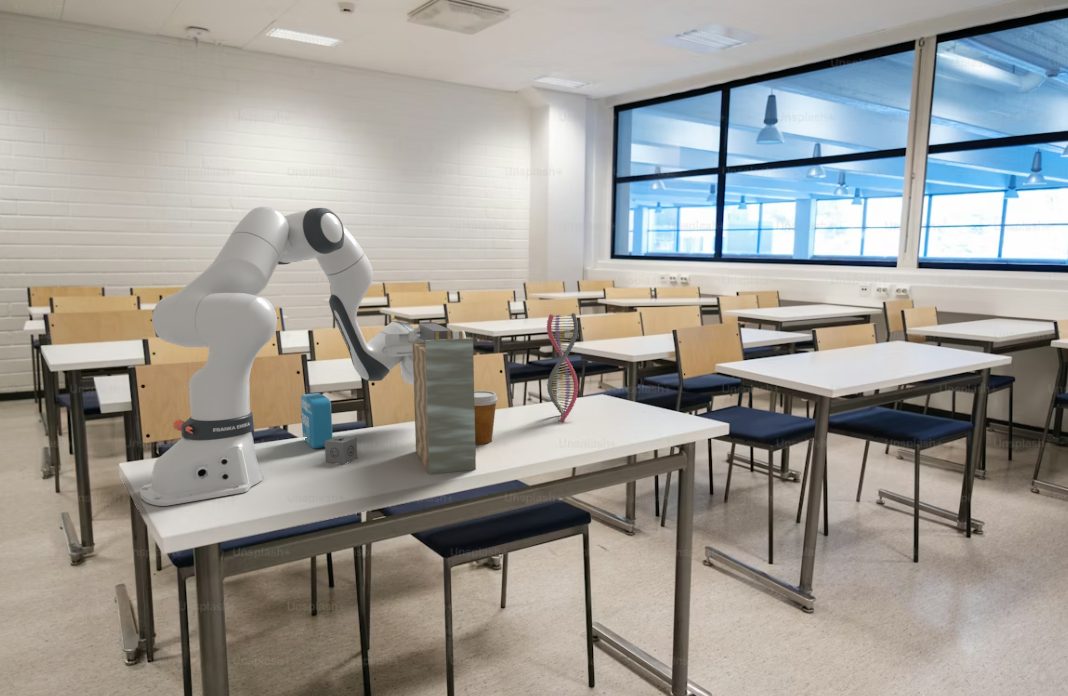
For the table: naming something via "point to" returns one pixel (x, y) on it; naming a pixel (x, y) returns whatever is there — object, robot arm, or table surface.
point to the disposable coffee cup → (484, 415)
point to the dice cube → (340, 449)
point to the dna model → (561, 361)
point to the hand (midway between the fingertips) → (429, 329)
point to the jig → (444, 403)
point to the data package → (316, 419)
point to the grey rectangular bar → (433, 331)
